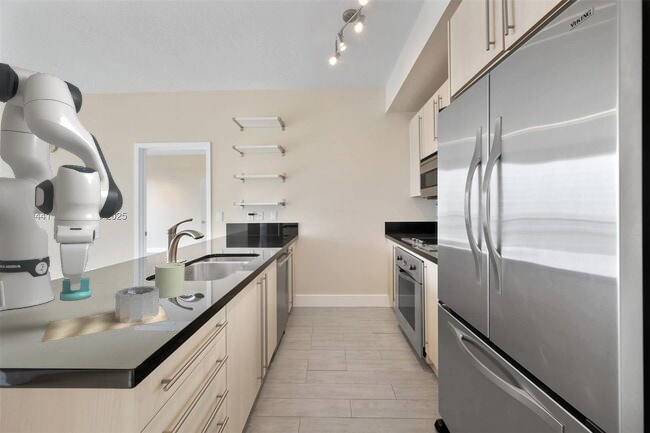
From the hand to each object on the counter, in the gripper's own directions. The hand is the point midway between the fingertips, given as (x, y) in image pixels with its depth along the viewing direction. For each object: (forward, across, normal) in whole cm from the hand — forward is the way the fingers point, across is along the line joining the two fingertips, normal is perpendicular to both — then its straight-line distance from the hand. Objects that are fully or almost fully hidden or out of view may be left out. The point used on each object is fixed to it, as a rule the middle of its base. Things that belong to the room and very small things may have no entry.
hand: (76, 287), depth 75 cm
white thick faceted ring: (+9, 0, +13) cm, 16 cm away
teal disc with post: (+2, 0, 0) cm, 2 cm away
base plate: (+11, 0, +7) cm, 13 cm away
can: (+11, -18, +24) cm, 32 cm away
